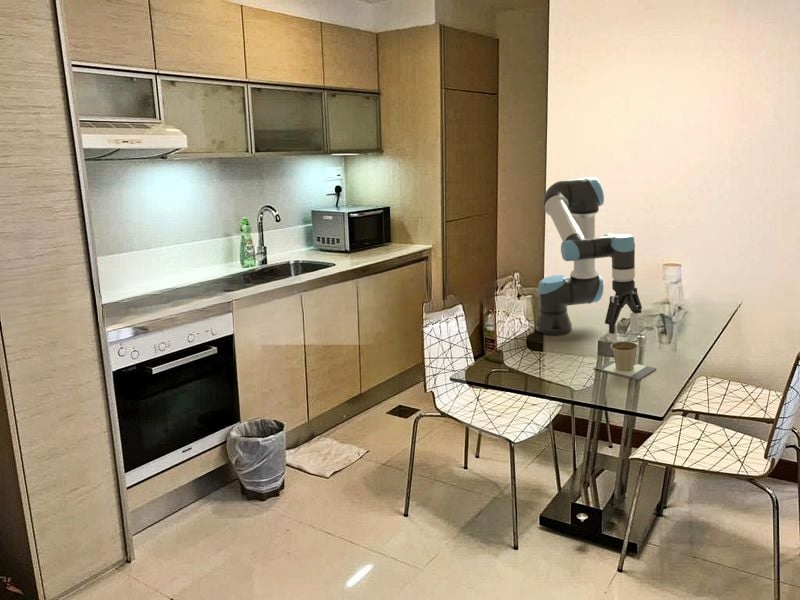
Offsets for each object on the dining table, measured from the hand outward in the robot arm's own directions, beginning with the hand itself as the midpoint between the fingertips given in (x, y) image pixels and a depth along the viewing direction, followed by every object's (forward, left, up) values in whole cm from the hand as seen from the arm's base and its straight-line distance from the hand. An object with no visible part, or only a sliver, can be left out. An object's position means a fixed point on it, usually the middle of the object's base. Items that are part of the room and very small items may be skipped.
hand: (624, 335), depth 238 cm
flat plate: (0, 0, -13) cm, 13 cm away
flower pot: (0, 0, -13) cm, 13 cm away
